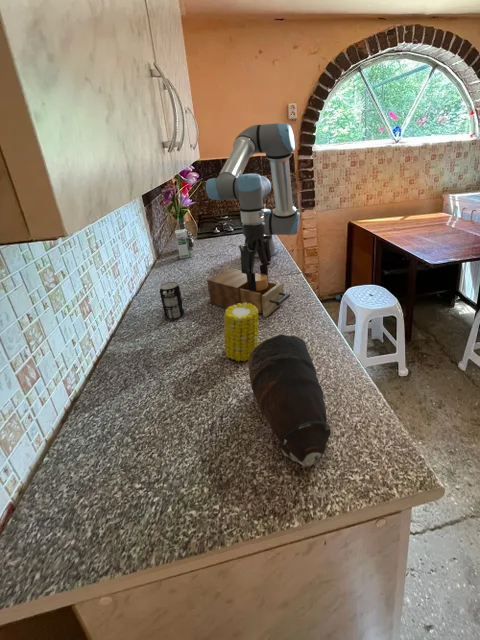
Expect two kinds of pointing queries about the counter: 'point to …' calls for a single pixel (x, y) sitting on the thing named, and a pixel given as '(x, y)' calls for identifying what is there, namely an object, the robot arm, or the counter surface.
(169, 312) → the beverage can
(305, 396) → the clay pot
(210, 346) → the counter surface
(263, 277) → the short wooden cylinder
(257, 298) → the drawer
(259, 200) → the robot arm
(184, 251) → the syrup box
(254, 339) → the food
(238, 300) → the cabinet
